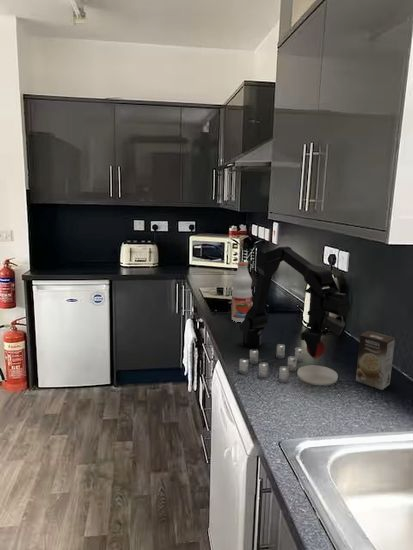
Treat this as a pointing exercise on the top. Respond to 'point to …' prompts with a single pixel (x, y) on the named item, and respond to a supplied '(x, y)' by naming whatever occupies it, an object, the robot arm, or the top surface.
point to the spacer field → (264, 366)
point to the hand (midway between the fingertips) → (315, 353)
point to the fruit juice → (241, 293)
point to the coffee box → (375, 359)
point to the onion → (318, 350)
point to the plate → (317, 375)
